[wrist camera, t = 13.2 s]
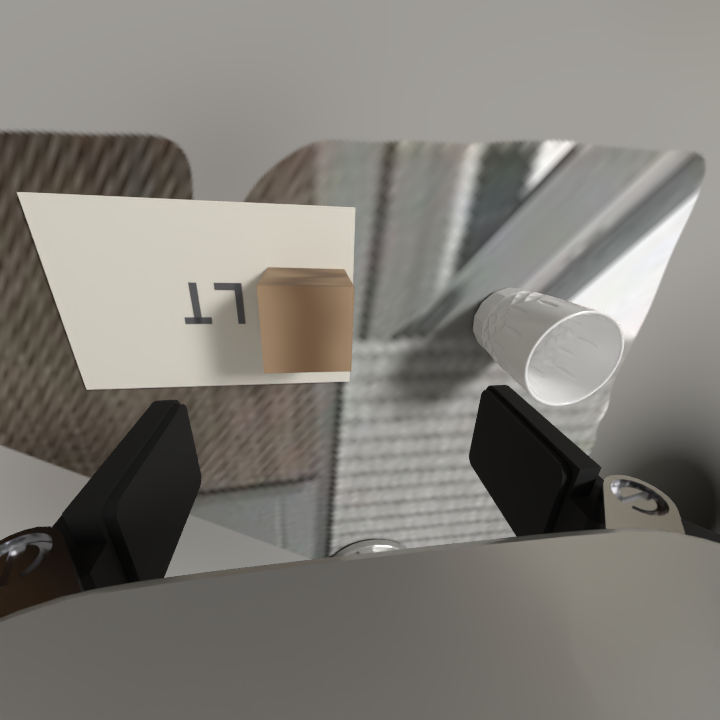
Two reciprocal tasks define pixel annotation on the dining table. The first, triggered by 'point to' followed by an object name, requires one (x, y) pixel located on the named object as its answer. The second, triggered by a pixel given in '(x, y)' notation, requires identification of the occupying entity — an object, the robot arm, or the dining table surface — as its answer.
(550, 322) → the white cup
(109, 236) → the board
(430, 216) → the dining table surface
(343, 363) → the walnut block
